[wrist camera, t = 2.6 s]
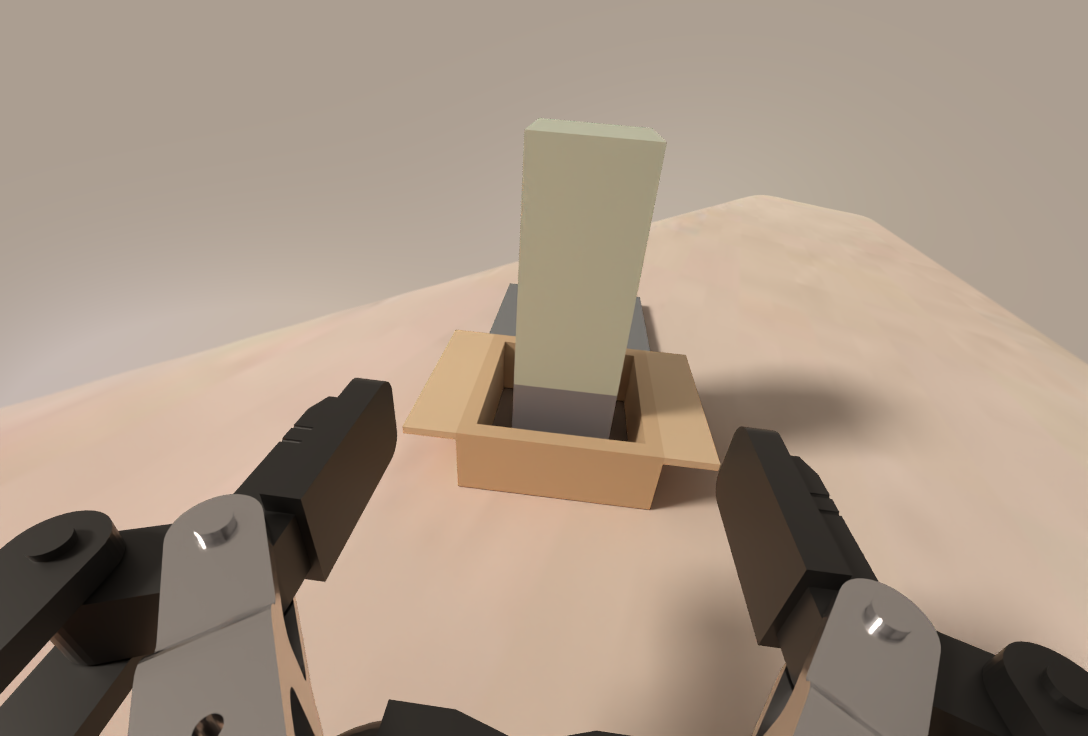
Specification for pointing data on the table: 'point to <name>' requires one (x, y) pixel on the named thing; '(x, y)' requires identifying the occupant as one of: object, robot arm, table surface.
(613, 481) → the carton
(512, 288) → the slate mat
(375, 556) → the table surface
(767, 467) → the robot arm
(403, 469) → the table surface
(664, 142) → the box
